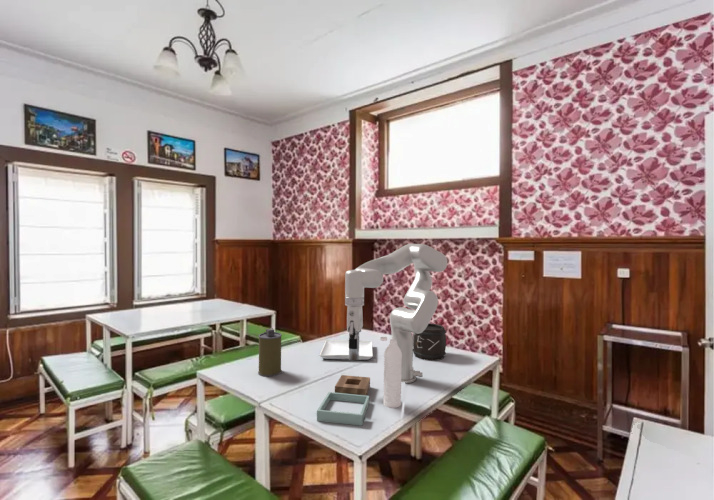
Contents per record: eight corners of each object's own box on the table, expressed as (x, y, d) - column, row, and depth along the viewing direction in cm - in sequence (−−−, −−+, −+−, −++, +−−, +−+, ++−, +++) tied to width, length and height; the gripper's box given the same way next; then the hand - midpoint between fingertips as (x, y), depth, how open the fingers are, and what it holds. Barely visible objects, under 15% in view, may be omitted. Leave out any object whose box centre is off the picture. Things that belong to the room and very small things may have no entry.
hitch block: (369, 389, 152) (370, 377, 152) (365, 402, 141) (365, 389, 140) (341, 386, 154) (341, 375, 154) (334, 399, 143) (334, 386, 143)
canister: (284, 373, 168) (285, 330, 167) (262, 378, 163) (262, 333, 162) (276, 366, 177) (277, 325, 177) (255, 370, 172) (255, 327, 171)
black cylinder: (404, 353, 201) (405, 325, 200) (428, 348, 211) (429, 321, 210) (428, 363, 186) (428, 332, 185) (452, 357, 196) (453, 328, 195)
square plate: (325, 345, 214) (325, 339, 214) (372, 347, 213) (372, 340, 213) (318, 361, 187) (318, 353, 187) (372, 363, 186) (373, 355, 186)
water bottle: (404, 405, 138) (405, 339, 137) (394, 411, 133) (396, 343, 132) (384, 399, 143) (385, 335, 143) (374, 405, 138) (376, 338, 137)
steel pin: (362, 356, 149) (362, 326, 149) (359, 361, 144) (359, 330, 144) (348, 355, 150) (348, 326, 150) (345, 360, 145) (345, 329, 145)
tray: (369, 405, 138) (369, 395, 138) (362, 425, 123) (362, 415, 123) (328, 401, 141) (328, 392, 141) (316, 420, 126) (316, 410, 125)
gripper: (360, 305, 137) (359, 354, 138) (367, 298, 154) (366, 341, 155) (340, 304, 139) (340, 352, 140) (349, 297, 155) (349, 340, 156)
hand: (354, 346), depth 147 cm, fingers closed on steel pin, 4 cm apart
